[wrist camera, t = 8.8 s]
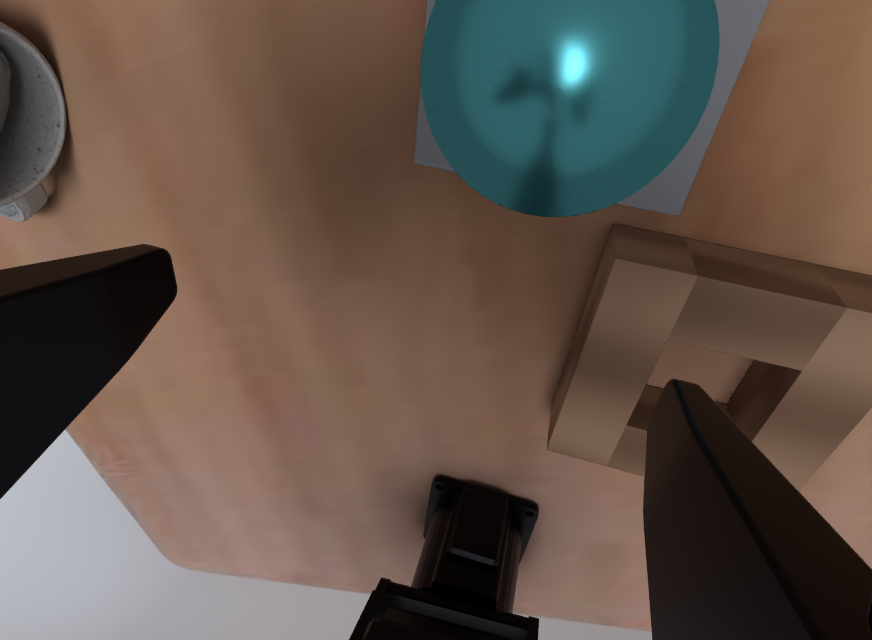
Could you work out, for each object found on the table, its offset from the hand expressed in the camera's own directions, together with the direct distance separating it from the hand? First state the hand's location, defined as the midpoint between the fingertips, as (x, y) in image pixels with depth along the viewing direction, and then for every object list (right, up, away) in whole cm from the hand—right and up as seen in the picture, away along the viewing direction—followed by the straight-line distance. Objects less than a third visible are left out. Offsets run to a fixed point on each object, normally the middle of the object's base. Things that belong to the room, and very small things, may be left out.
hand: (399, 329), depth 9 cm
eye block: (+12, -1, +13) cm, 18 cm away
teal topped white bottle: (+5, +9, +7) cm, 13 cm away
